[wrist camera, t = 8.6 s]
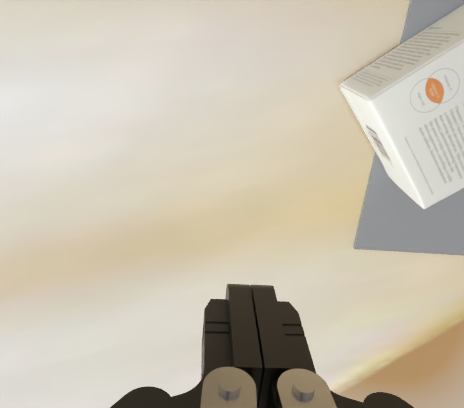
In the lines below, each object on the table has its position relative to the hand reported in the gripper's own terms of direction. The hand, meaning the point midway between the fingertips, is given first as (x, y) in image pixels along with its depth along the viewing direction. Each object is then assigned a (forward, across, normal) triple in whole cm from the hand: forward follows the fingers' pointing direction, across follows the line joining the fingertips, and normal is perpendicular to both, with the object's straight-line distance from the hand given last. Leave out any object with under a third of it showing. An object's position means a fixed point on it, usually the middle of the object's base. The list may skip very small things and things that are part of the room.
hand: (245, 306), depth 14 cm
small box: (+14, -9, -2) cm, 17 cm away
